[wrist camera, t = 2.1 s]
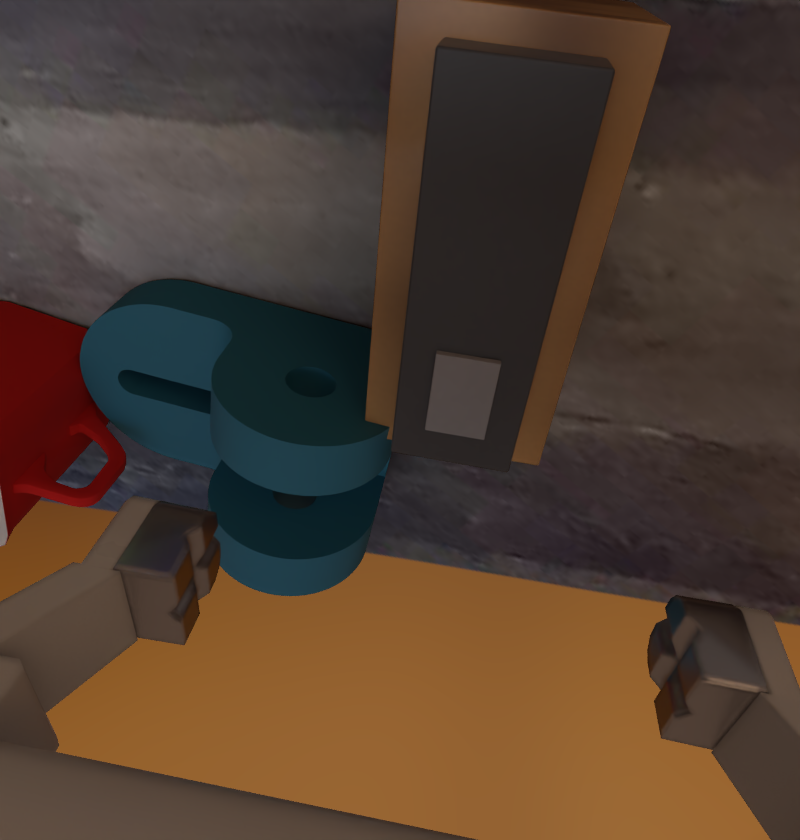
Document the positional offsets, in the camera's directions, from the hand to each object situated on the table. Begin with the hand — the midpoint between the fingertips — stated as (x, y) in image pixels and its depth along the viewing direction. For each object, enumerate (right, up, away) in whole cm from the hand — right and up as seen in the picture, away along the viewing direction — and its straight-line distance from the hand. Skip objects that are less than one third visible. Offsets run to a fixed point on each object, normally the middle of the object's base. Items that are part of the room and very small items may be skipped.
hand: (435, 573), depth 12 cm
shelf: (+4, +13, +19) cm, 23 cm away
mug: (-21, +6, +29) cm, 36 cm away
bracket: (-9, +5, +27) cm, 29 cm away
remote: (+2, +8, +12) cm, 15 cm away
